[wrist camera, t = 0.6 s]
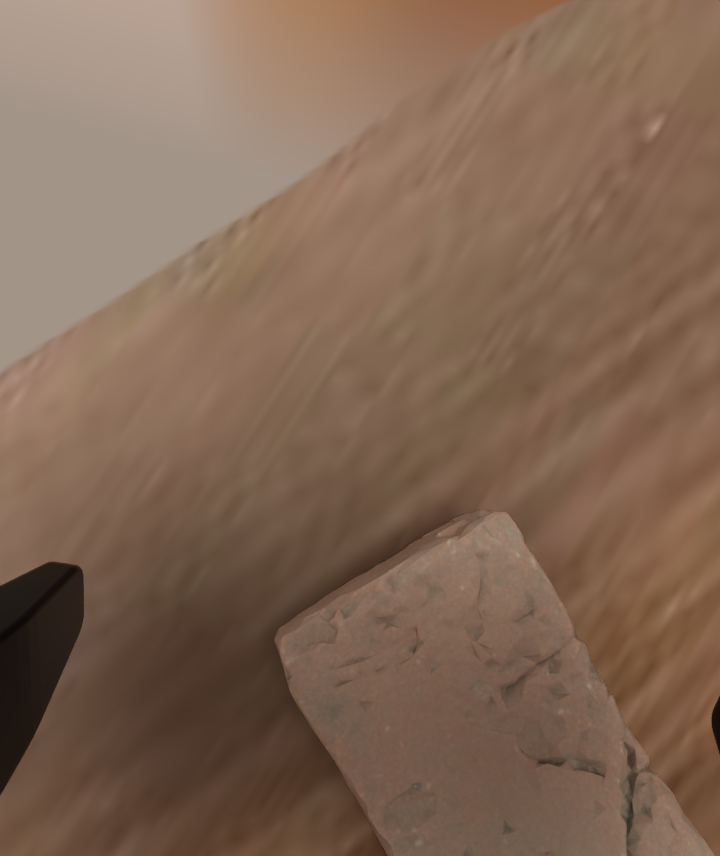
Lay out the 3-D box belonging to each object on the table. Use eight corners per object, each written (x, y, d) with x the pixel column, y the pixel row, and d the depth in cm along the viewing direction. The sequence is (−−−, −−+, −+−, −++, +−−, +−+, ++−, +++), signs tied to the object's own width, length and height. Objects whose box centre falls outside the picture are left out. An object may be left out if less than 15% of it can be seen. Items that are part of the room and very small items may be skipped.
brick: (726, 930, 23) (829, 1026, 18) (521, 1083, 22) (574, 1227, 17) (469, 505, 25) (502, 494, 20) (271, 623, 24) (258, 640, 19)
